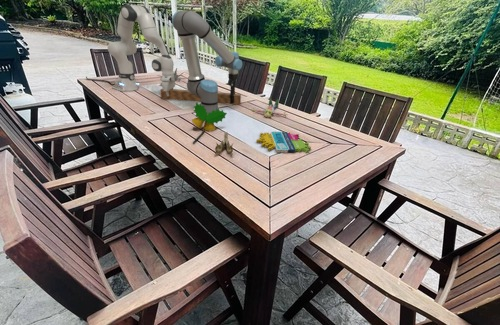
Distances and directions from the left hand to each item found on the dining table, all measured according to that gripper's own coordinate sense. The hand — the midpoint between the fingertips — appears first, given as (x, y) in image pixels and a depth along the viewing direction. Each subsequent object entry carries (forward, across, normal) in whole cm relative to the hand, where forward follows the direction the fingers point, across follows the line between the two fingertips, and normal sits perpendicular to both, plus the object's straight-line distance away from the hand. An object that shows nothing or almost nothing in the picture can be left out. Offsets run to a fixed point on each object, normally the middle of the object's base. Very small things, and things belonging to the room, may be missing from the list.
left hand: (170, 94), depth 214 cm
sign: (+4, +72, +88) cm, 114 cm away
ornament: (+4, +58, +43) cm, 72 cm away
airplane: (+3, -58, -17) cm, 61 cm away
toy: (+4, +17, +83) cm, 84 cm away
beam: (+4, 0, +26) cm, 26 cm away
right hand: (+3, 0, +52) cm, 52 cm away
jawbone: (+4, +88, +56) cm, 105 cm away
